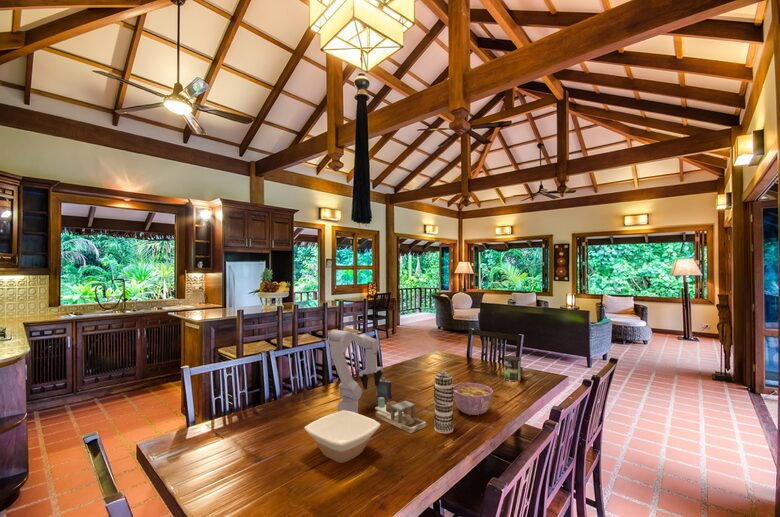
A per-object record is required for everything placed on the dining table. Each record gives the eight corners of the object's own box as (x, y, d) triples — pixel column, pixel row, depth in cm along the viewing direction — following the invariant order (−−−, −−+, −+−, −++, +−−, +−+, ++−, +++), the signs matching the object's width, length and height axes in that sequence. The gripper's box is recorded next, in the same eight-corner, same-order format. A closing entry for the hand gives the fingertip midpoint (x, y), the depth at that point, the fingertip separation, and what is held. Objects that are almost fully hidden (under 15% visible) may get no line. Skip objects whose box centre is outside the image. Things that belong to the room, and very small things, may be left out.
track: (410, 433, 154) (410, 414, 154) (375, 416, 172) (375, 399, 172) (426, 426, 161) (426, 408, 161) (390, 410, 179) (390, 394, 179)
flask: (375, 396, 199) (375, 377, 199) (377, 394, 201) (377, 375, 201) (390, 398, 195) (390, 379, 195) (392, 397, 197) (392, 377, 198)
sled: (394, 418, 165) (394, 407, 165) (374, 409, 175) (374, 398, 175) (403, 414, 169) (403, 403, 169) (384, 405, 179) (384, 395, 180)
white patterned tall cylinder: (438, 435, 153) (438, 377, 153) (430, 425, 162) (430, 371, 162) (457, 432, 155) (457, 375, 156) (448, 423, 164) (448, 369, 165)
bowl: (343, 432, 155) (343, 407, 156) (386, 450, 140) (386, 423, 140) (298, 454, 137) (298, 426, 137) (341, 478, 122) (342, 447, 122)
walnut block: (391, 413, 168) (391, 405, 168) (386, 411, 171) (386, 402, 171) (397, 411, 171) (397, 402, 171) (392, 408, 173) (392, 400, 174)
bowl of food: (495, 422, 165) (494, 397, 165) (451, 419, 169) (451, 394, 169) (491, 406, 184) (491, 384, 185) (452, 403, 188) (452, 381, 189)
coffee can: (512, 382, 222) (511, 360, 222) (500, 378, 231) (500, 356, 231) (524, 380, 226) (524, 358, 226) (512, 376, 235) (512, 355, 236)
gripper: (364, 365, 177) (364, 392, 176) (386, 360, 187) (386, 386, 186) (356, 362, 182) (356, 389, 182) (377, 357, 192) (377, 382, 191)
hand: (371, 387), depth 184 cm, fingers open, 7 cm apart
